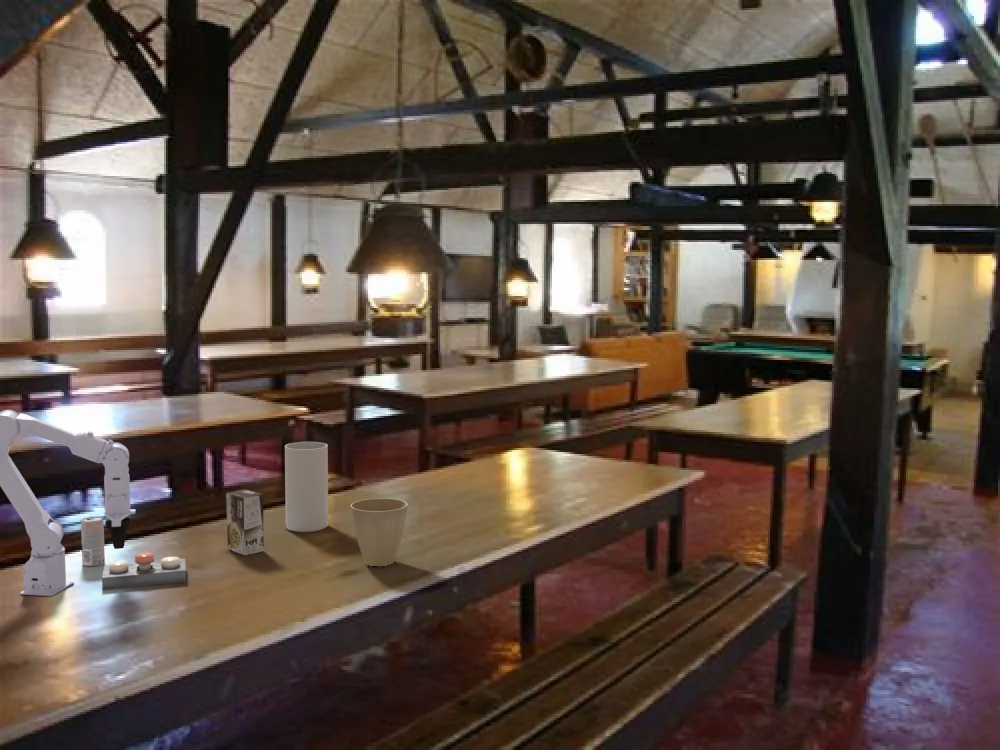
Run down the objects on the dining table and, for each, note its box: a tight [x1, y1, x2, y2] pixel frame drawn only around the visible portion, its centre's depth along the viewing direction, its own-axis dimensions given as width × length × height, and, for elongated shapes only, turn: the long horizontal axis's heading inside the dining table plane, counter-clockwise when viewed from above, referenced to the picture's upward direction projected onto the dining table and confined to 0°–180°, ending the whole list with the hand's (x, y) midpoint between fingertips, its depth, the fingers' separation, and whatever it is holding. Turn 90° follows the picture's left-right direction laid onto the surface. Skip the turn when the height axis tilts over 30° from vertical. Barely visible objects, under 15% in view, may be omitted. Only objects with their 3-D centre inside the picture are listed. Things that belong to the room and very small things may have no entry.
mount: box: [101, 558, 187, 591], centre depth 228 cm, size 19×10×3 cm, turn 110°
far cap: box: [160, 556, 181, 568], centre depth 230 cm, size 4×4×4 cm
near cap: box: [108, 560, 129, 573], centre depth 226 cm, size 4×4×4 cm
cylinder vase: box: [284, 441, 329, 533], centre depth 276 cm, size 12×12×25 cm
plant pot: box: [350, 497, 409, 568], centre depth 243 cm, size 15×15×16 cm
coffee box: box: [225, 488, 265, 556], centre depth 252 cm, size 9×6×16 cm
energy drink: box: [80, 516, 106, 568], centre depth 239 cm, size 5×5×12 cm
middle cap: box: [134, 552, 155, 570], centre depth 228 cm, size 4×4×4 cm
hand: (119, 547), depth 225 cm, fingers closed
